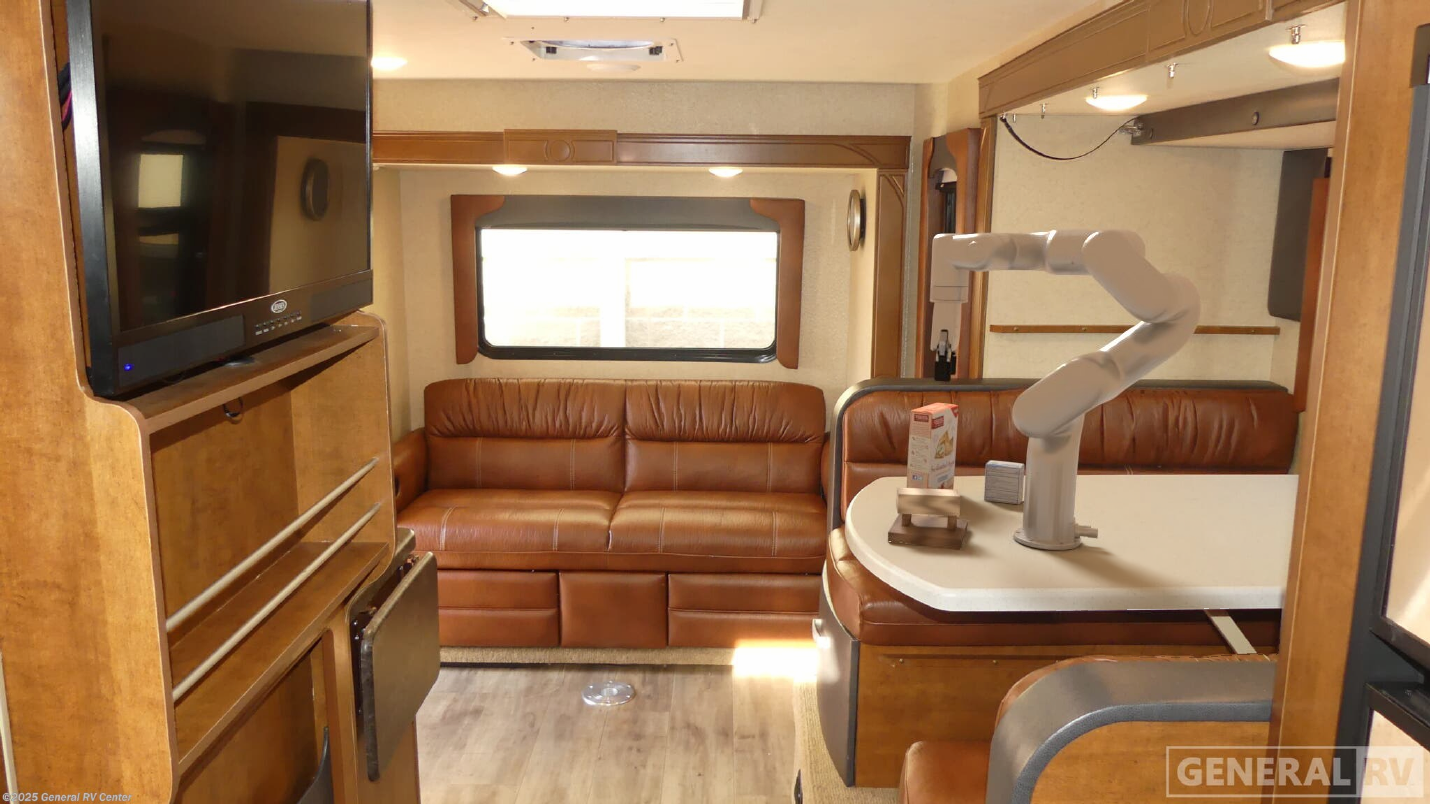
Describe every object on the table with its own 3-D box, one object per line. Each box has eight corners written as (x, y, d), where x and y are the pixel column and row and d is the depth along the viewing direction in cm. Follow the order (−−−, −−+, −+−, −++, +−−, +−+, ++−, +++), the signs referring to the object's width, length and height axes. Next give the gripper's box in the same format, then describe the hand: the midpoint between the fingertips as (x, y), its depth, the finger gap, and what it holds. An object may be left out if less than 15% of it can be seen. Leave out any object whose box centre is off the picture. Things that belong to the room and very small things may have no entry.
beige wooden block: (956, 509, 204) (957, 489, 203) (959, 516, 199) (960, 496, 198) (896, 506, 205) (896, 487, 205) (897, 513, 200) (898, 494, 200)
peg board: (967, 529, 207) (968, 505, 206) (960, 549, 194) (961, 524, 193) (899, 522, 212) (900, 499, 211) (887, 541, 199) (888, 517, 198)
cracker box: (929, 505, 225) (933, 412, 222) (904, 500, 229) (908, 409, 225) (955, 492, 236) (959, 404, 233) (931, 488, 240) (935, 401, 236)
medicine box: (1023, 500, 229) (1025, 463, 228) (1019, 505, 226) (1021, 467, 224) (987, 496, 233) (989, 459, 232) (983, 500, 229) (985, 463, 228)
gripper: (935, 291, 216) (932, 371, 219) (924, 297, 199) (921, 382, 202) (971, 292, 213) (967, 373, 216) (963, 298, 197) (959, 384, 200)
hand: (945, 377), depth 209 cm, fingers open, 9 cm apart
